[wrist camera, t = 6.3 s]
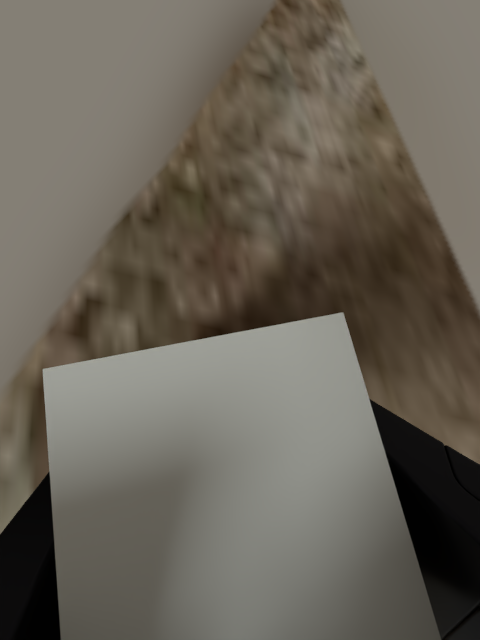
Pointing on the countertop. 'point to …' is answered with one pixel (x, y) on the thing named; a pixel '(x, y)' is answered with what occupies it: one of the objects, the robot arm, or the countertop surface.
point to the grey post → (228, 494)
